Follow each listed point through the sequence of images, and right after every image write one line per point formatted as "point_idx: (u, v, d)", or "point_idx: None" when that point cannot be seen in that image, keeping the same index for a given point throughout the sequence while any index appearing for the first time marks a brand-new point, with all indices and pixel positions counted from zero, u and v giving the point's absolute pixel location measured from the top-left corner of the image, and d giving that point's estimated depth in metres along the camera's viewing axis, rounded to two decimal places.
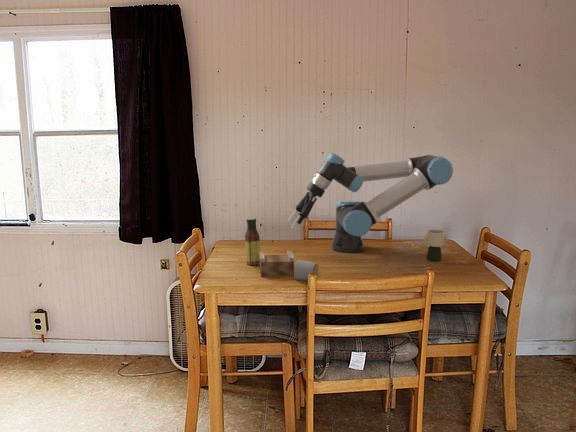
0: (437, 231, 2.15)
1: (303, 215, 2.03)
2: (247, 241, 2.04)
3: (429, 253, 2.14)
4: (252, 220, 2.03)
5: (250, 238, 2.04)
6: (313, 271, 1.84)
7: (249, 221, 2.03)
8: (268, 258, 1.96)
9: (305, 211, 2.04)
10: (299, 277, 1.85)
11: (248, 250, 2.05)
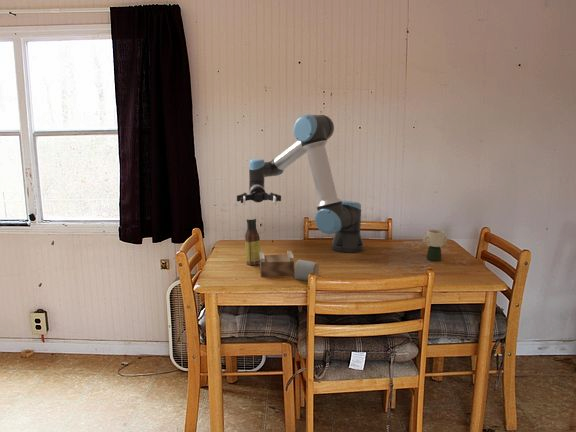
0: (437, 231, 2.15)
1: None
2: (247, 241, 2.04)
3: (429, 253, 2.14)
4: (252, 220, 2.03)
5: (250, 238, 2.04)
6: (313, 271, 1.84)
7: (249, 221, 2.03)
8: (268, 258, 1.96)
9: None
10: (299, 277, 1.86)
11: (248, 250, 2.05)
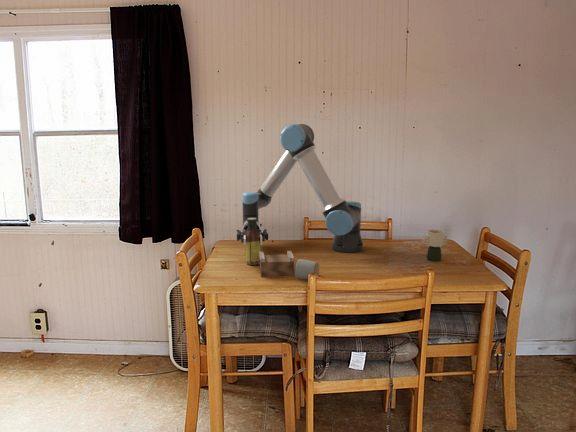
0: (437, 231, 2.15)
1: None
2: (248, 241, 2.04)
3: (429, 253, 2.14)
4: (253, 220, 2.03)
5: (250, 238, 2.04)
6: (314, 270, 1.85)
7: (250, 221, 2.03)
8: (268, 258, 1.96)
9: None
10: (300, 276, 1.87)
11: (248, 250, 2.05)
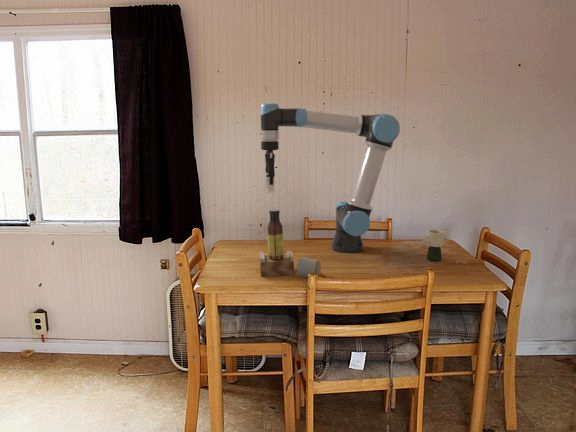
0: (437, 231, 2.15)
1: (270, 175, 2.00)
2: (272, 235, 1.91)
3: (429, 253, 2.14)
4: (276, 211, 1.90)
5: (275, 231, 1.91)
6: (315, 268, 1.87)
7: (273, 213, 1.90)
8: (268, 258, 1.96)
9: (270, 170, 2.00)
10: (302, 274, 1.89)
11: (273, 244, 1.92)
